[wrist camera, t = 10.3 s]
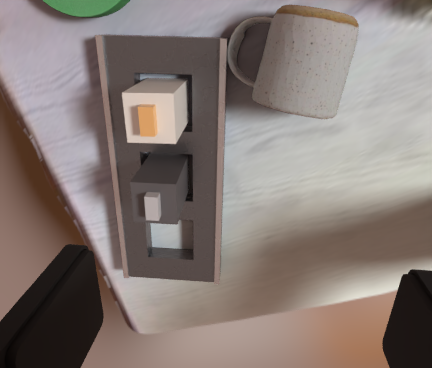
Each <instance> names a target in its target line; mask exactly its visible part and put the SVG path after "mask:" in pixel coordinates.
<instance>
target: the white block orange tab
mask: <svg viewBox="0 0 432 368" xmlns="http://www.w3.org/2000/svg"><path fill="white" fill-rule="evenodd" d="M122 99H123V108H124V117H125V126H126V134H127V143H162V144H176V143H177V141H178V139H179V137H180V136H181V134H182V132H183V130H184V129H185V127H186V125H187V123H188V121H189V89H188V79H179V78H146V79H145V80H143V81H141V82H139V83H138V84H136V85H134V86H133V87H131V88H129V89H127V90H126V91H124V92H122Z"/></svg>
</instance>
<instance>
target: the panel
mask: <svg viewBox="0 0 432 368" xmlns="http://www.w3.org/2000/svg"><path fill="white" fill-rule="evenodd" d="M95 38H96V46H97V55H98V63H99V72H100V80H101V88H102V97H103V105H104V114H105V122H106V131H107V139H108V148H109V156H110V164H111V173H112V181H113V190H114V198H115V207H116V215H117V223H118V232H119V240H120V249H121V257H122V266H123V274H124V278H129V276H131V277H146V278H161V279H175V280H190V281H205V282H214V284H219V280H220V266H221V235H222V205H223V175H224V144H225V114H226V84H227V48H228V38H219V37H181V36H142V35H95ZM140 73H159V74H189V75H192V126H186V127H185V129H184V130H183V132H182V134H181V136H180V137H179V139H178V141H177V143H176V144H162V143H127V134H126V126H125V117H124V108H123V99H122V92H124V91H126V90H127V89H129V88H131V87H133V86H134V85H136V84H138V83H139V82H140ZM145 152H152V153H174V154H193V194H192V193H188V194H187V197H186V200H185V203H184V206H183V209H182V212H181V215H180V218H179V220H193V250H185V249H169V248H153V247H152V241H151V227H150V223H143V222H134V219H133V208H132V198H131V187H130V181H131V180H132V179H133V177H134V176H135V174H136V173H137V172H138V170H139V169H140V167H141V166H142V165H143V163H144V162H145V160H146V156H145Z"/></svg>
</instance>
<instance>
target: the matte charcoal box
mask: <svg viewBox="0 0 432 368" xmlns="http://www.w3.org/2000/svg"><path fill="white" fill-rule="evenodd" d="M130 187H131V198H132V208H133V219H134V222H143V223H161V224H178V221H179V218H180V215H181V212H182V209H183V206H184V203H185V200H186V197H187V194H188V190H189V154H174V153H152V152H151V153H150V155H149V156H148V157H147V159H146V160H145V162H144V163H143V165H142V166H141V167H140V169H139V170H138V172H137V173H136V174H135V176H134V177H133V179H132V180H131V181H130Z"/></svg>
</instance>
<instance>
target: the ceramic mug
mask: <svg viewBox="0 0 432 368" xmlns="http://www.w3.org/2000/svg"><path fill="white" fill-rule="evenodd" d="M260 23H271V25H270V28H269V32H268V36H267V40H266V45H265V49H264V53H263V57H262V60H261V63H260V66H259V70H258V74H257V78H256V82H255V81H253V80H251V79H249V78H248V77H246V76H245V75H244V74H243V73H242V72H241V71H240V69H239V67H238V65H237V54H238V51H239V47H240V44H241V41H242V39H243V38H244V37H245V33H244V32H245V31H246V30H247V29H248V28H249V27H251V26H253V25H254V24H260ZM357 37H358V23H357V21H356V19H355V18H354V17H352V16H350V15H347V14H344V13H340V12H335V11H331V10H327V9H321V8H314V7H307V6H299V5H285V6H282V7H281V8H279V9H278V10H277V12H276V14H275V16H274V18H269V17H263V16H261V17H253V18H249V19H246V20H245V21H243V22H242V23H241V24H239V25H238V26H237V27H236V28H235V30H234V32H233V33H232V35H231V37H230V40H229V43H228V48H227V61H228V65H229V67H230V69H231V71H232V72H233V74H234V75H235V76H236V77H237V78H238V79H239V80H240V81H242V82H243V83H245V84H246V85H248V86H251V87H253V88H254V89H253V93H252V99H253V100H254V101H255V102H257V103H259V104H261V105H264V106H266V107H269V108H272V109H276V110H278V111H282V112H286V113H291V114H295V115H301V116H306V117H312V118H319V119H328V118H333V117H335V115H336V114H337V110H338V106H339V103H340V99H341V95H342V92H343V89H344V85H345V82H346V78H347V75H348V71H349V67H350V64H351V61H352V58H353V54H354V51H355V47H356V43H357Z"/></svg>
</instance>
